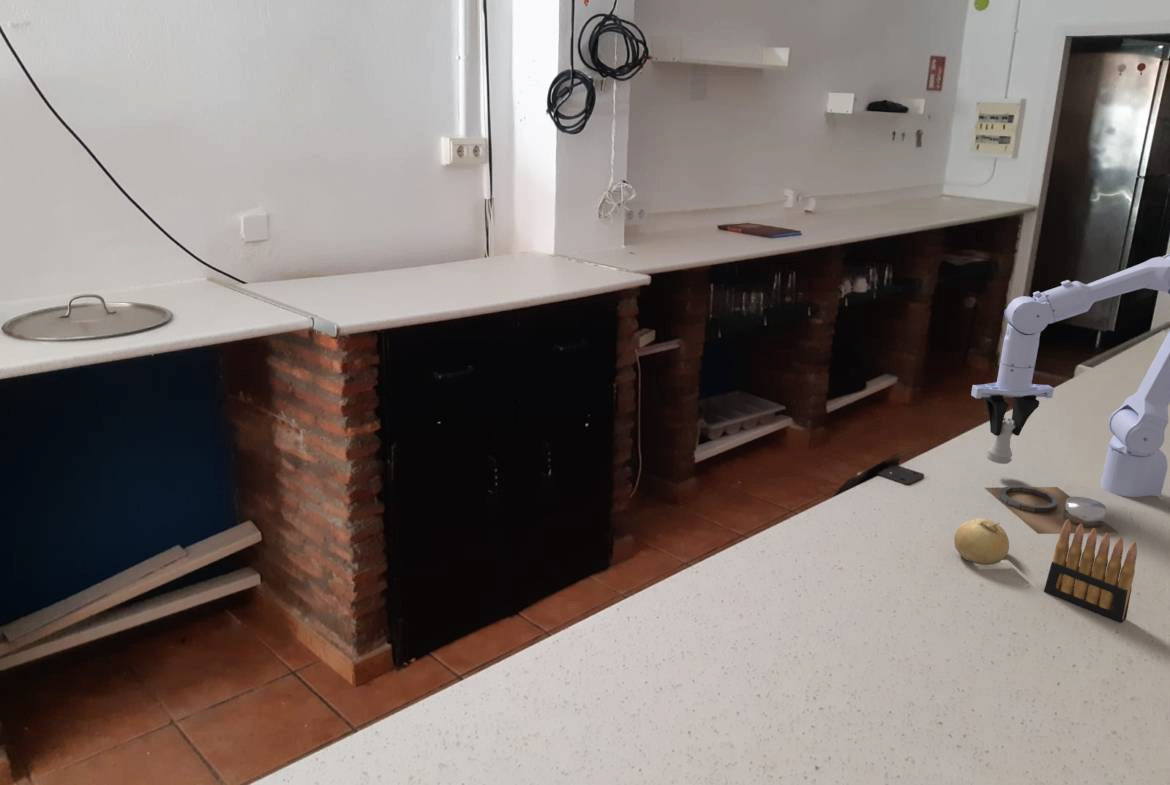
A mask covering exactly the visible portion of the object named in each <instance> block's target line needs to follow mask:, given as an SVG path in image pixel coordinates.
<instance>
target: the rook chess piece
mask: <svg viewBox="0 0 1170 785" xmlns="http://www.w3.org/2000/svg"><path fill="white" fill-rule="evenodd" d="M1011 419H1012V418H1007V420H1006V417H1004V418H1003V422H1002V428H1001V432H1000V435H999V436H995V439H994V442H993V443H992V444H991V445H990V447H989V448H988V449H987V453H986V454H985V455H986V459H988V460H989V461H990V462H992V463H996V464H1000V465H1001V464H1002V465H1007V464H1009V463H1011V461H1012V457H1013V452H1012V449H1011V437H1012V436H1013V435H1014V434H1013V433H1012V430H1013V429H1014V428H1015V427H1016V426H1015V424H1014V423H1015V422H1014V420H1012V421H1011Z"/></svg>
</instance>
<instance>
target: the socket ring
mask: <svg viewBox="0 0 1170 785" xmlns="http://www.w3.org/2000/svg"><path fill="white" fill-rule="evenodd" d="M1032 487H1033V486H1025V485H1008V486H1007V485H1006V486H1004V488H1002V489H1001V493H1000V499H1001V500H1002V501H1003V502H1004V503H1005V504H1007V505H1009V506H1011V507H1014V508H1016V509H1019V510H1022V511H1028V512H1033V513H1049V512H1052V511H1054V510H1056V509H1057V498H1055V497H1054V496H1053V495H1051V494H1050V493H1048V492H1045V491H1042V490H1040V489H1036V488H1032ZM1009 493H1027V494H1033V495H1036V496H1039V497H1041V498H1044V499H1046V500H1047V501H1048V502H1050V503H1051V504H1049V505H1046V506H1034V505H1029V504H1024V503H1020V502H1018V501H1015V500H1013V499H1011V498H1010V497H1008V496H1007V494H1009Z"/></svg>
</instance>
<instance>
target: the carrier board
mask: <svg viewBox="0 0 1170 785" xmlns="http://www.w3.org/2000/svg"><path fill="white" fill-rule="evenodd" d="M1004 487H1005V486H1004ZM1004 487H1003V486H1002V487H984V489H985V490H986V491H987V492H988V493H990V494H991V495H992V496H993V497H994V498H995V499H997V500H998V501H999V502H1000V503H1001V504H1003V506H1005V507H1006V508H1007V509H1008V510H1010V511H1011V512H1012V513H1013V515H1015V516H1016V517H1018V519H1020V520H1021V521H1022V522H1024V523H1025V524H1026V525H1027V526H1029V528H1031V530H1033V531H1034V532H1035V533H1037V534H1040V535H1041V534H1045V535H1046V534H1061V530H1062V527H1063V525H1064V523H1065V522H1066V520H1065V519H1064V518H1063V513H1064V508H1065V504H1066V499H1067V498H1069V497H1071V496H1070V495H1069V494H1067V493H1066V492H1065V491H1063V489H1061V488H1059V487H1058V486H1031V487H1032V488H1036V489H1040V490H1042V491H1045V492H1048V493H1050V494H1051V495H1053V496H1054V497H1055V498H1057V509H1056V510H1054V511H1052V512H1049V513H1033V512H1028V511H1022V510H1019V509H1016V508H1014V507H1011V506H1009V505H1007V504H1005V503H1004V502H1003V501H1002V500H1001V499H1000V493H1001V489H1002V488H1004ZM1007 496H1008V497H1010V498H1011V499H1013V500H1015V501H1018V502H1020V503H1024V504H1029V505H1034V506H1046V505H1049V504H1051V503H1050V502H1048V501H1047V500H1046V499H1044V498H1041V497H1039V496H1036V495H1033V494H1027V493H1009V494H1007ZM1070 525H1071V530H1070V534H1075V532H1076V529H1077V528H1078V526H1076V525H1073V524H1071V523H1070ZM1092 529H1093V528H1084V527H1083V530H1084V534H1090V532H1091V531H1092ZM1095 529H1096V532H1097V534H1104V533H1105V534H1106V533H1109V534H1110V533H1112V534H1113V533H1115V534H1117V533H1119V531H1117V530H1116V529H1115V528H1113V527H1112V526H1111V525H1110V524H1108V523H1107V522H1105V521H1104V520H1103V524H1102V526H1101V527H1099V528H1095Z"/></svg>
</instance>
